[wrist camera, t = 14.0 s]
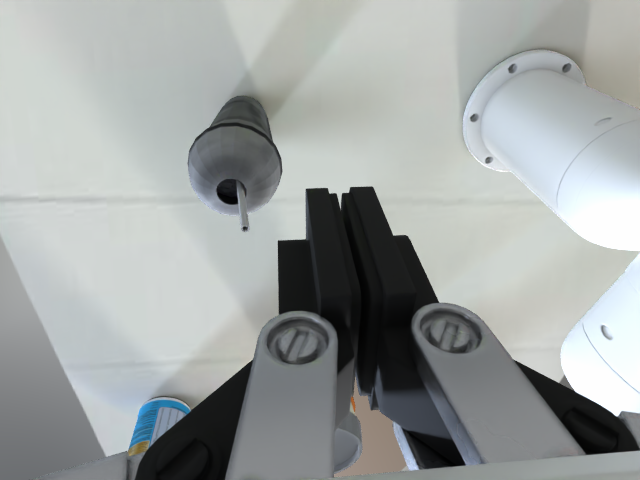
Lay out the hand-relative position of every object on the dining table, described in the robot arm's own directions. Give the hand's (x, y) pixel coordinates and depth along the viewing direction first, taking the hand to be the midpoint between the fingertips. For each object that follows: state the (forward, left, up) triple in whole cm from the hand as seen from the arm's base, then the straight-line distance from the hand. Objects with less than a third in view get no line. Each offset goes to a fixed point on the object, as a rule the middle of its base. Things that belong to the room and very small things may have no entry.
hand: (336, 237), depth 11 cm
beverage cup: (+5, +8, -33) cm, 35 cm away
